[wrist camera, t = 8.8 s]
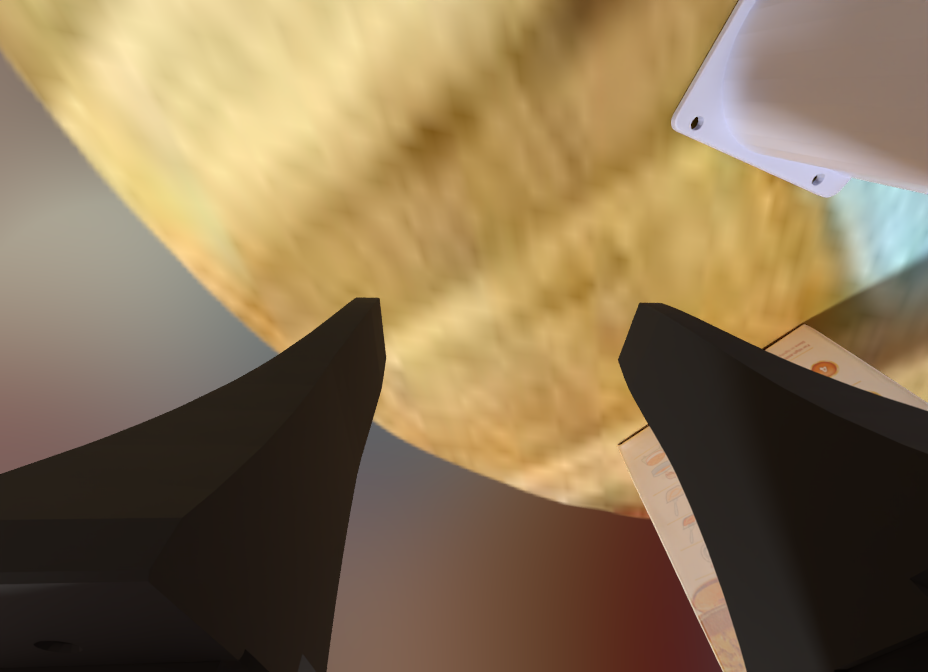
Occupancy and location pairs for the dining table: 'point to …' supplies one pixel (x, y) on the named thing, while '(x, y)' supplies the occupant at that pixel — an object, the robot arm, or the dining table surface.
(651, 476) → the coffeecake box
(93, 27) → the dining table surface
